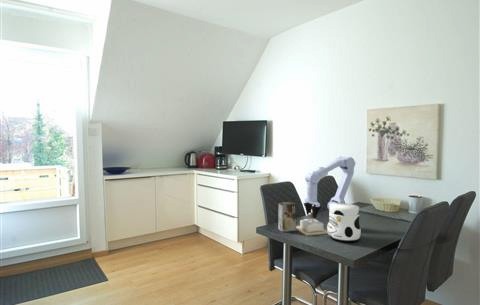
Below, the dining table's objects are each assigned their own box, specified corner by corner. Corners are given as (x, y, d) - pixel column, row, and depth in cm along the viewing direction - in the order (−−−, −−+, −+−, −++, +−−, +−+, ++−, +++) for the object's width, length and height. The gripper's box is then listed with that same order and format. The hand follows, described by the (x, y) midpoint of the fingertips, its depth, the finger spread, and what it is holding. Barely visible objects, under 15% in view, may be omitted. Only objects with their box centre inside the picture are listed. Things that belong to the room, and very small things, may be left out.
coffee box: (291, 227, 187) (292, 201, 187) (296, 230, 181) (296, 204, 181) (277, 228, 185) (278, 202, 184) (282, 232, 179) (282, 204, 178)
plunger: (313, 220, 187) (314, 211, 187) (320, 224, 180) (320, 214, 180) (303, 221, 185) (303, 212, 185) (309, 224, 178) (309, 214, 178)
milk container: (321, 238, 168) (321, 205, 167) (336, 231, 180) (337, 201, 179) (351, 246, 156) (352, 211, 155) (365, 238, 168) (366, 206, 167)
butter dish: (316, 225, 194) (316, 217, 193) (331, 233, 177) (331, 224, 177) (292, 227, 189) (293, 219, 189) (306, 235, 173) (306, 226, 173)
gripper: (300, 191, 188) (300, 213, 189) (312, 196, 174) (311, 219, 175) (310, 191, 190) (310, 213, 191) (323, 195, 176) (322, 219, 177)
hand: (311, 216), depth 183 cm, fingers open, 7 cm apart
